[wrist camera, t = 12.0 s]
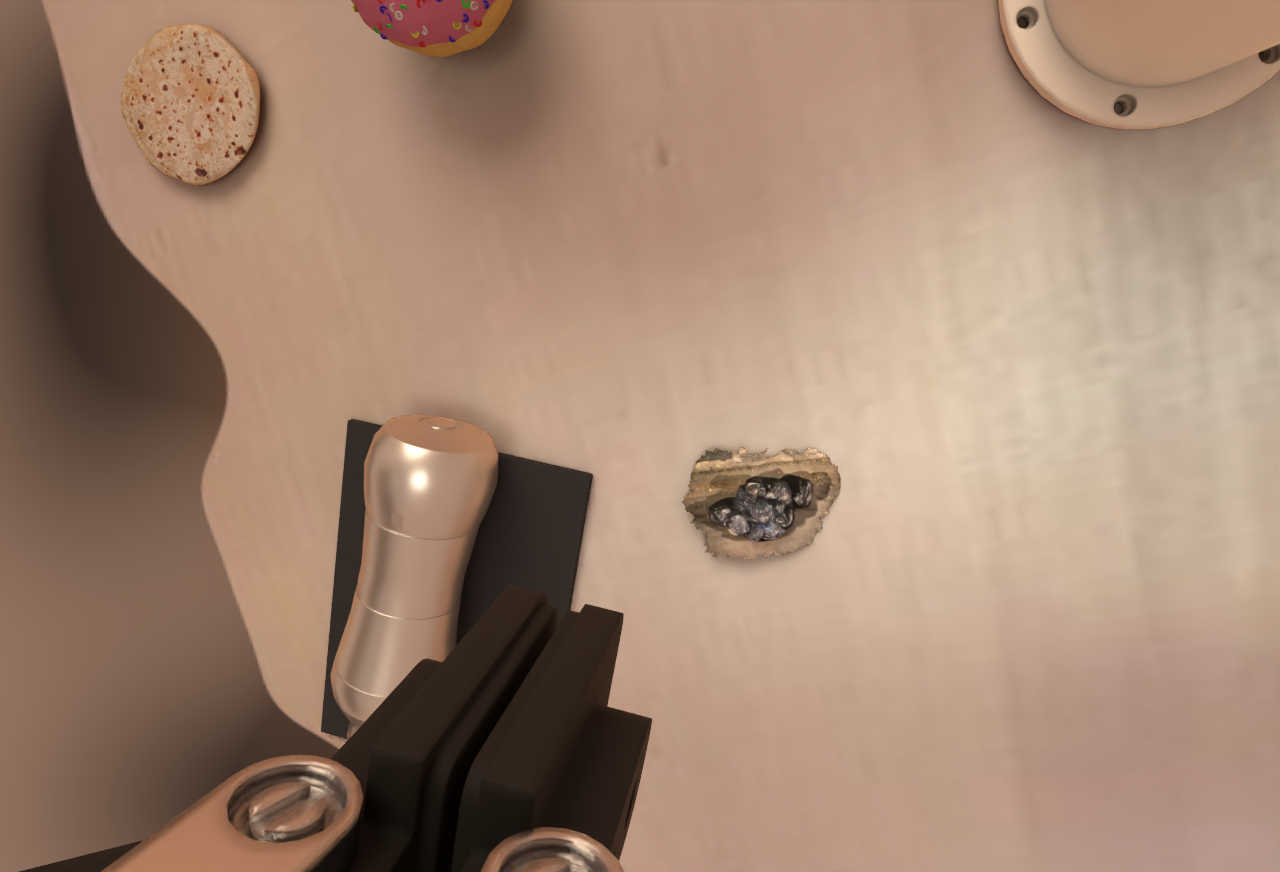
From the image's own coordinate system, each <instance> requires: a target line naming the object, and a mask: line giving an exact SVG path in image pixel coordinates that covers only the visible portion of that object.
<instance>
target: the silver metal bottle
mask: <svg viewBox="0 0 1280 872" xmlns="http://www.w3.org/2000/svg"><path fill="white" fill-rule="evenodd" d="M497 479H498V452H497V450H496V447H495V445H494V442H493V440H492V438H491V436H490V435H489V434H488V433H486V432H485V431H483V430H482V429H480V428H478V427H476V426H473V425H471V424H468V423H465V422H462V421H459V420H454V419H450V418H445V417H439V416H430V415H406V416H399V417H395V418H393V419H390V420H389V421H387V422H386V423H385V424H384V425H383V426H382V427H381V428H380V429H379V430H378V431H377V433H376V434H375V435H374V437H373V440H372V443H371V445H370V448H369V451H368V454H367V457H366V459H365V462H364V498H365V507H366V511H365V524H364V537H363V551H362V564H361V568H360V572H359V577H358V584H357V586H356V590H355V594H354V599H353V603H352V607H351V612H350V615H349V618H348V621H347V624H346V627H345V630H344V633H343V636H342V639H341V642H340V645H339V647H338V651H337V653H336V656H335V659H334V663H333V667H332V671H331V684H332V689H333V695H334V698H335V700H336V702H337V704H338V705H339V707H340V708H341V710H342V711H343V713H344V714H345V716H346V717H347V718H348V720H349V721H350V724H349V727H348V731H347V741H348V740H349V739H350V738H351V736H352V735H353V734H354V733H355V732H356V731H357V730H358V729H359V728H360V726H361V725H362V724H363V723H364V722H365V721H366V720H367V719H368V718H369V717H370V715H371V714H372V713H373V712H374V711H375V710H376V709H377V708H378V707H379V706H380V704H381V703H382V702H383V701H384V700H385V699H386V698H387V697H388V696H389V695H390V693H391V692H392V691H393V690H394V689H395V688H396V687H397V686H398V685H399V684H400V682H401V681H402V680H403V679H404V678H405V677H406V676H407V675H408V674H409V672H410V671H411V670H412V669H413V668H414V667H415V666H416V665H417V664H418V663H419V662H420V661H421V660H423V659H428V658H429V659H432V660H436V661H440V662H443V661H444V660H445V659H446V657H447V656H448V655H449V654H450V653H451V652H452V650H453V649H454V648H455V647H456V636H457V621H458V614H459V608H460V602H461V593H462V589H463V582H464V576H465V572H466V569H467V566H468V562H469V559H470V556H471V553H472V549H473V546H474V543H475V539H476V536H477V533H478V530H479V526H480V523H481V522H482V520H483V518H484V516H485V514H486V511H487V509H488V507H489V505H490V502H491V499H492V496H493V494H494V491H495V488H496V485H497Z"/></svg>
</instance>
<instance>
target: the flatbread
mask: <svg viewBox="0 0 1280 872" xmlns="http://www.w3.org/2000/svg"><path fill="white" fill-rule="evenodd" d="M121 98H122V100H121V105H122V114H123V117H124V119H125V121H126V124H127V126H128V128H129V130H130V132H131V134H132V136H133V138H134V140H135V142H136V143H137V145H138V146H139V148H140V149H141V151H142V153H143V154H144V156H145V157H146V158H147V160H148V161H149V162H150V164H151V165H152V166H154V167H155V168H156V169H157V170H159V171H160V172H162V173H164V174H166V175H168V176H171V177H173V178H175V179H177V180H180V181H182V182H185V183H188V184H191V185H204V184H208V183H211V182H214V181H216V180H218V179H219V178H221V177H223V176H224V175H226V174H228V173H229V172H230V171H231V170H232V169H233V168H234V167H236V166H237V165H238V164H239V162H240V161H241V160H242V159H243V158H244V156H245V155H246V154H247V152H248V151H249V149H250V147H251V145H252V143H253V140H254V138H255V135H256V132H257V129H258V123H259V115H260V82H259V78H258V76H257V73H256V71H255V70H254V69H253V68H252V67H251V66H250V65H249V64H248V63H247V62H246V61H245V59H244V58H243V57H242V56H241V55H240V53H239V52H238V51H237V50H236V49H235V48H234V47H233V46H232V44H231V43H229V42H228V41H227V40H226V39H225V38H224V37H223V36H222V35H221V34H219V33H218V32H216V31H215V30H213V29H211V28H209V27H206V26H203V25H175V26H171V27H168V28H166V29H164V30H161V31H159V32H158V33H157V34H155V35H154V36H153V37H152V38H151V39H150V40H149V41H147V42H146V43H145V45H144V46H143V47H142V48H141V49H140V51H139V52H137V54H136V55H135V56H134V58H133V59H132V61H131V63H130V66H129V68H128V71H127V75H126V78H125V81H124V85H123V91H122V93H121Z"/></svg>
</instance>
